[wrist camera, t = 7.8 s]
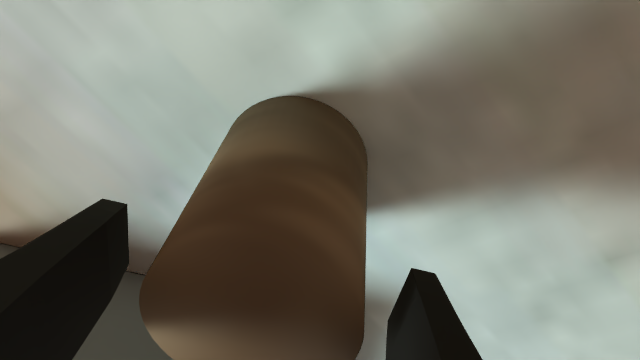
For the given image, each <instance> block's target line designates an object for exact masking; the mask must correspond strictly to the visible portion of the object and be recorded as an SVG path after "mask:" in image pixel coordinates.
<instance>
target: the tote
mask: <svg viewBox="0 0 640 360" xmlns="http://www.w3.org/2000/svg"><path fill="white" fill-rule="evenodd" d="M17 249H19V248H18V247H13V246H9V245H4V244H0V259H1V258H3V257H4V256H6V255H8V254H10V253H12V252H14V251H16V250H17ZM144 278H145V276H144V275H140V274H135V273H131V272H126V271H125V273H124V275H123V277H122V280H121V282H120V284H119V286H118V288H117V290H116V292H115V294H114V296H113V298H112V300H111V301H110V303H109V304H108V306H107V307H106V309H105V311H104V312H103V314H102V315H101V317H100V318H99V320H98V321H97V323H96V324H95V326H94V327H93V329H92V331H91V332H90V334H89V335H88V337H87V338H86V340H85V341H84V343H83V344H82V346H81V347H80V349H79V350H78V352H77V353H76V355H75V356H74V358H73V359H72V360H173V359H172V358H171V357H170V356H168V355H167V354H166V353H165V352H164V351H163V350H162V349H161V348H160V347H159V346H158V344H157V343H156V342H155V341H154V340H153V338H152V337H151V335H150V334H149V332H148V330H147V328H146V326H145V324H144V322H143V320H142V316H141V313H140V306H139V294H140V289H141V285H142V282H143V280H144Z"/></svg>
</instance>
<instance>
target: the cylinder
mask: <svg viewBox="0 0 640 360" xmlns="http://www.w3.org/2000/svg"><path fill="white" fill-rule="evenodd" d="M366 211H367V154H366V150H365V146H364V144H363V141H362V139H361V137H360V135H359V133H358V131H357V130H356V129H355V127H354V126H353V125H352V123H351V122H350V121H349V120H348V119H347V118H346V117H345V116H343V115H342V114H341V113H339V112H338V111H337V110H335V109H333V108H332V107H330V106H328V105H326V104H324V103H322V102H319V101H316V100H313V99H310V98H304V97H297V96H283V97H275V98H271V99H267V100H264V101H261V102H259V103H257V104H255V105H253V106H251V107H250V108H249V109H247V110H246V111H244V112H243V113H242V114H241V115H240V116H239V117H238V118H237V120H236V121H235V122H234V123H233V125H232V127H231V128H230V130H229V132H228V134H227V135H226V137H225V139H224V140H223V142H222V144H221V146H220V147H219V149H218V151H217V153H216V154H215V156H214V158H213V160H212V161H211V163H210V165H209V166H208V168H207V170H206V172H205V173H204V175H203V177H202V179H201V180H200V182H199V184H198V186H197V187H196V189H195V191H194V193H193V194H192V196H191V198H190V199H189V201H188V203H187V205H186V206H185V208H184V210H183V212H182V213H181V215H180V217H179V219H178V220H177V222H176V224H175V225H174V227H173V229H172V231H171V232H170V234H169V236H168V238H167V239H166V241H165V243H164V245H163V246H162V248H161V250H160V251H159V253H158V255H157V257H156V258H155V260H154V262H153V264H152V265H151V267H150V269H149V271H148V272H147V274H146V276H145V278H144V280H143V282H142V285H141V289H140V294H139V306H140V313H141V316H142V320H143V322H144V324H145V326H146V328H147V330H148V332H149V334H150V335H151V337H152V338H153V340H154V341H155V342H156V343H157V344H158V346H159V347H160V348H161V349H162V350H163V351H164V352H165V353H166V354H167V355H168V356H170V357H171V358H172V359H173V360H355V358H356V357H357V355H358V353H359V351H360V349H361V346H362V343H363V338H364V317H365V264H366Z"/></svg>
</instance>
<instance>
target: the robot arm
mask: <svg viewBox="0 0 640 360" xmlns="http://www.w3.org/2000/svg"><path fill="white" fill-rule="evenodd" d="M128 265H129V247H128V214H127V204H124V203H120V202H115V201H111V200H106V199H101V200H100V201H98V202H96V203H95V204H93V205H91V206H89V207H88V208H86V209H84V210H83V211H81V212H79V213H78V214H76V215H75V216H73V217H71V218H70V219H68V220H66V221H65V222H63V223H61V224H60V225H58V226H57V227H55V228H53V229H52V230H50V231H48V232H47V233H45V234H43V235H41V236H40V237H38V238H36V239H35V240H33V241H31V242H29V243H28V244H26V245H24V246H23V247H21V248H19V249H17V250H16V251H14V252H12V253H10V254H8V255H6V256H4V257H3V258H1V259H0V360H72V359H73V358H74V356H75V355H76V353H77V352H78V350H79V349H80V347H81V346H82V344H83V343H84V341H85V340H86V338H87V337H88V335H89V334H90V332H91V331H92V329H93V327H94V326H95V324H96V323H97V321H98V320H99V318H100V317H101V315H102V314H103V312H104V311H105V309H106V307H107V306H108V304H109V303H110V301H111V300H112V298H113V296H114V294H115V292H116V290H117V288H118V286H119V284H120V282H121V280H122V277H123V275H124V273H125V271H126V269H127V267H128ZM386 360H482V358H481V356H480V355H479V353H478V351H477V349H476V348H475V346H474V344H473V342H472V341H471V339H470V337H469V336H468V334H467V332H466V330H465V329H464V327H463V325H462V323H461V321H460V319H459V318H458V316H457V314H456V312H455V310H454V308H453V306H452V304H451V303H450V301H449V299H448V297H447V295H446V293H445V291H444V289H443V287H442V285H441V283H440V281H439V280H438V278H437V276H436V274H435V273H431V272H427V271H422V270H418V269H413V268H411V270H410V272H409V275H408V277H407V279H406V281H405V284H404V286H403V288H402V290H401V292H400V295H399V297H398V299H397V301H396V304H395V306H394V308H393V310H392V312H391V315H390V317H389V319H388V326H387V343H386Z"/></svg>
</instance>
